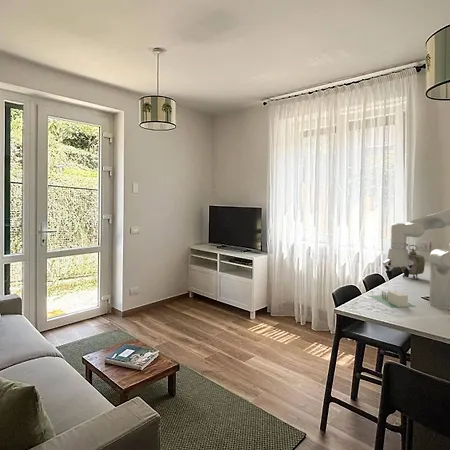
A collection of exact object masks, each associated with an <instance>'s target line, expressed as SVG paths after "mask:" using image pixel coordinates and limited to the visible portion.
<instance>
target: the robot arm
mask: <svg viewBox="0 0 450 450" xmlns="http://www.w3.org/2000/svg"><path fill="white" fill-rule="evenodd" d="M449 226H450V207H449V208H447V209H444V210H441V211H439V212H436V213H432V214H428V215H426V216H422V217H418V218H415V219H413V220H410V221H408V222H405V223H403V222H400V223H399V222H397V223H396V222H395V223H392V224H391V228H390V234H391V238H390V247H389V249H388V252H387V259H386V260H384V261H383V262H382V264H383V266H384V269H386V277H387V278H388V279H392V278H393V269H394V268H400V267H404V268H405V269H404V273H403V275H404V277H403V278H409V276H410V274H409V270H410V268H411V267H412V265H413V263H414V262H413V261H411V260H409V255H408V254H409V248H408V247H409V243H407V241H408V239H407V237H410V238H420V237H423V235H424V234H425V232H426V231H427V230H433V229H444V228H447V227H449ZM428 262H429V270H430V273H429V276H430V277H429V301H428V302H426V303H425V304H426V305H427V306H429V307H432V308H437V309H443V310H444V309H445V310H449V311H450V243H449V244H448V250H447V249H444V248H436V249H433V250H432V251H431V252H430V254H429V258H428ZM409 263H410V264H409Z"/></svg>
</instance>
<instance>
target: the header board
mask: <svg viewBox="0 0 450 450" xmlns="http://www.w3.org/2000/svg"><path fill="white" fill-rule="evenodd" d="M369 297H370V298H372V299H374V300H376V301H378V302H380V303H382V304H383V305H386V306H387V307H389V308H392V309H394V308H395V309H396V308H397V309H398V308H402V307H398V306H396V305H394V304H392V303H390V302H388V292H386V291H384V290H381V295H379V294H378V295H377V294H376V295H374V294H373V295H369ZM416 307H417V306H416V305H413V304H412V303H409V302H408V307H407V308H416Z"/></svg>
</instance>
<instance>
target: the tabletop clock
mask: <svg viewBox="0 0 450 450" xmlns="http://www.w3.org/2000/svg"><path fill="white" fill-rule="evenodd" d="M412 246H413V247H416V249H414V248H410V247H412ZM408 250H409V251H408V255H409V260H411V261H413V262H414V263H413V265H412V267H411V268H410V270H409V275H411V276H412V277H413V279H415V280H417V281H418V280H419V278H418V275H421V274H424V272H425V265H426V264H425V263H426V262H425V257H424V256H423V255H421V254H418V253H417V252H416V251H417V250H418V246H417V245H414V244H410V245H408ZM409 264H410V263H409ZM399 269H400V272H401V273H402V277H403V278H405V277H404V269H405V268H404V267H399Z"/></svg>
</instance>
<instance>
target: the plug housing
mask: <svg viewBox="0 0 450 450" xmlns="http://www.w3.org/2000/svg"><path fill="white" fill-rule="evenodd" d="M387 291H388V292H387V293H388V302H390V303H392V304H394V305H396V306H398V307H401V308H409V307H408V303H409V301H408V300H409V299H408V297H409V295H408V294H405V293H403V292H400V291H398V290H387Z"/></svg>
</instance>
